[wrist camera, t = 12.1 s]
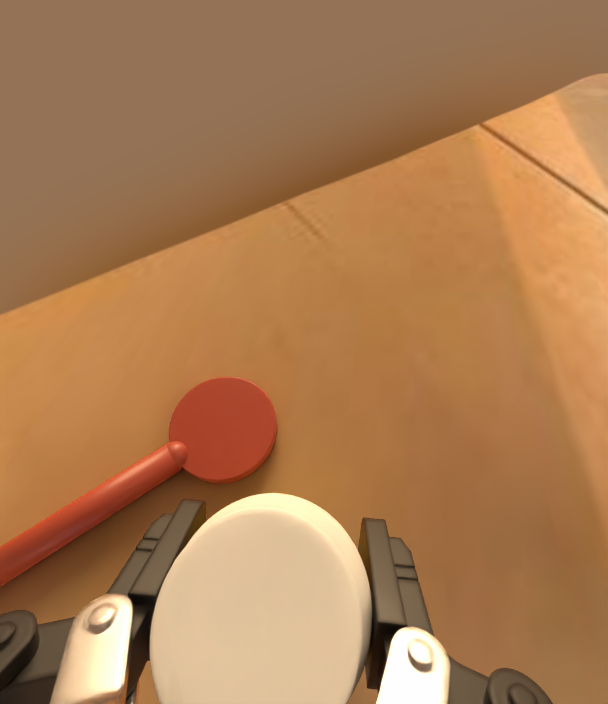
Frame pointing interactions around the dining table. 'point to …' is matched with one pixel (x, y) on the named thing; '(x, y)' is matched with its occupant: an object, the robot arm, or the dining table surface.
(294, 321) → the dining table surface
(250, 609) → the supplement bottle
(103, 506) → the red spoon
